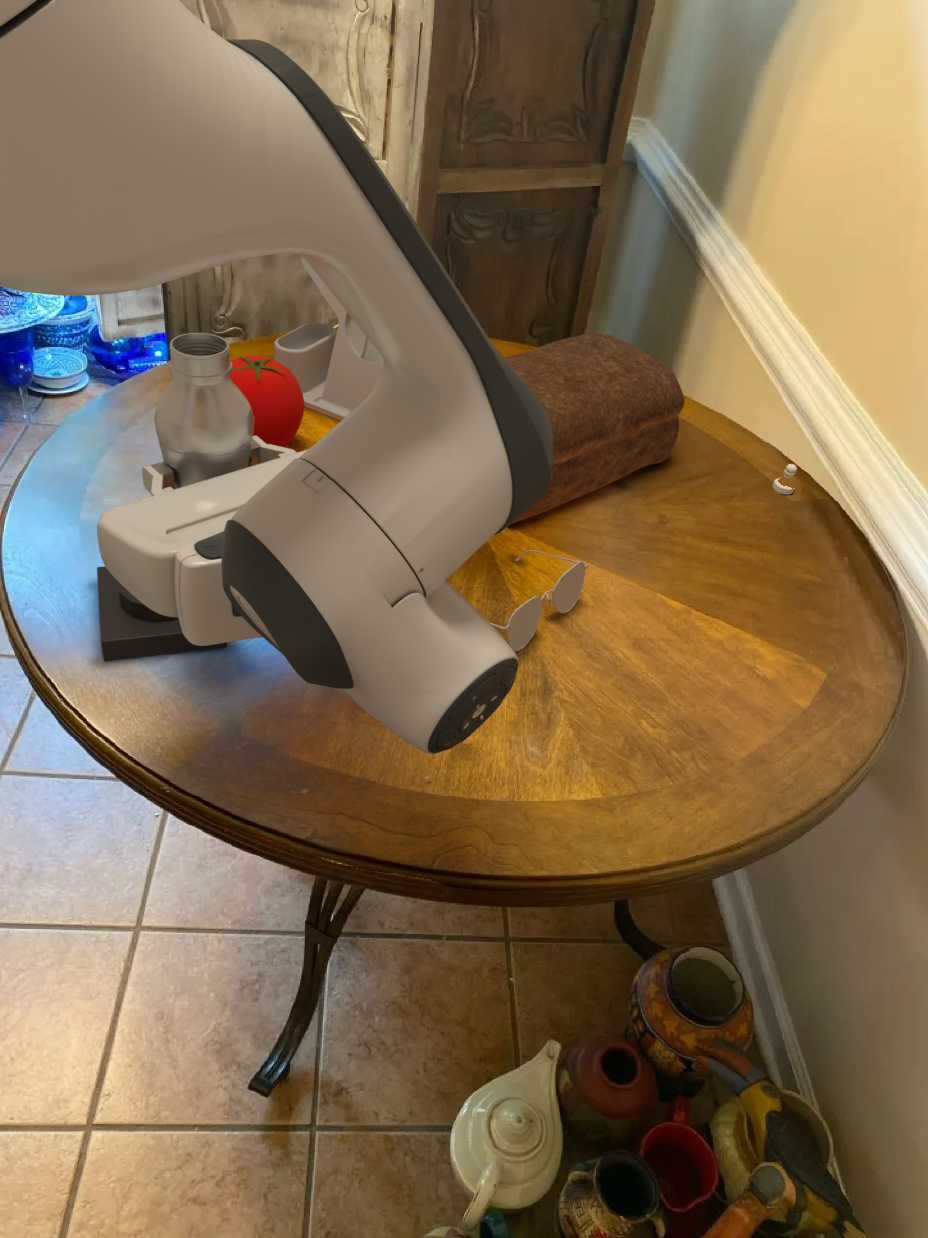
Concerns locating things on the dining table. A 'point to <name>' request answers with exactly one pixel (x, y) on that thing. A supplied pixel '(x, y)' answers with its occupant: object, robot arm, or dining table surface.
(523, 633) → the sunglasses
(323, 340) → the phone holder
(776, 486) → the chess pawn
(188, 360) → the metal bottle
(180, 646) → the block
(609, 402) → the bread
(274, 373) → the tomato
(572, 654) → the dining table surface
